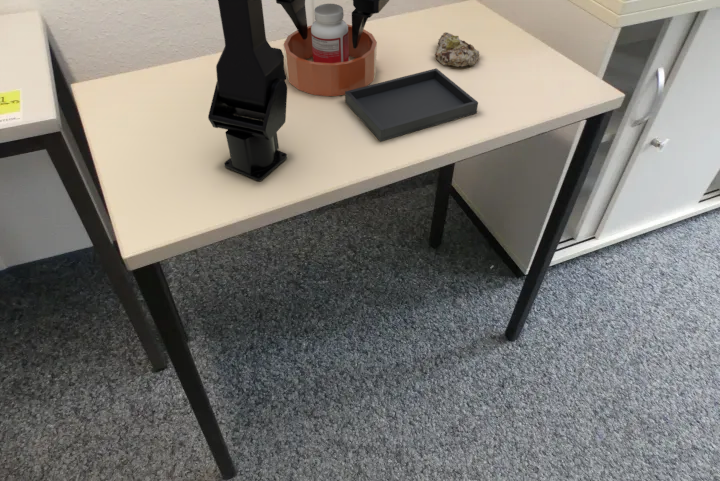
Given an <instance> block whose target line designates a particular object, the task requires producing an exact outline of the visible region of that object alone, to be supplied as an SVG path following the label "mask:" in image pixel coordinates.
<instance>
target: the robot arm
mask: <svg viewBox="0 0 720 481" xmlns="http://www.w3.org/2000/svg"><path fill="white" fill-rule="evenodd" d="M275 2H276V4H278V5H281V7H282V9H283V10H284V11H285V13H286V14H287V15H288V17H289V18H290V20H291V21H292V23H293V25H294V27H295V29H296V31H297V30H298V32H299V33H300V35H301V37H302V39H303V40H306V39H307V37H308V19H307V10H306V0H275ZM389 2H390V0H352V6H353V7H354V10H352V12H351V25H352V43H353V48H354V49H356V48H357V47H358V44H359V41H360V38H361V35H362V32H363V30H365V27H366V23H367V21H368V19H369V18H371V17H372V16H373V15H375V14H380V12H381V11H382V10H383V9H384V7H385V6H387V4H388V3H389ZM217 3H218V9H219V15H220V16H219V17H220V21H221V28H222V33H223V38H224V48H223V50H222V52H221V54H220V56H219V58H218V61H217V63H216V66H215V70H216V71H215V72H216V84H215V88H214V92H213V95H212V100H211V103H210V108H209V111H208V114H207V115H208V116H207V119H208V121H209V123H210V124H211V126H212V127H213V128H215V129H222V130H226V131H225V133H224V134H225V138H226V142H227V146H228V151H229V157H230V158H229V159H227V160H226V161H225V162H224V163H223V166H224V167H225V168H226V169H229V170H231V171H233V172H236V173H238V174H240V175H243V176H245V177H248V178H249V179H253V180H255V181H259V182H260V181H262V180H264V178H266V177H267V176H268V175H270V174H271V173H272V172H273V171H274V170H275V169H276V168H277V167H279V166H280V165H281V164H282V163H284V161H285V160H287V159H288V154H287V153H286V152H283V151H281V150H279V149H280V146H279V140H278V139H279V138H278V132H279V131H280V129H281V128H282V127H283V126H284V124H285V123H286V120H287V100H288V85H287V82H286V80H287V74H286V69H285V54H284V52H283V50H282V49H281V48H277V47H272V46H271V45H270V43H269V42H268V40H267V35H266V27H265V18H264V9H263V0H217Z"/></svg>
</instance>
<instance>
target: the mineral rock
mask: <svg viewBox="0 0 720 481" xmlns="http://www.w3.org/2000/svg"><path fill="white" fill-rule="evenodd" d="M437 45H438V46H437V51H436V52H435V54H434V56H435V58H436V60H437V62H438V63H440V64H441V65H442V66H453V67H457V68H458V67H465V66H470V67H472V66H474V65H475V64H476V63H477V61H478V59H479V58H480V55H481V54H480V51H479V50H478V49H476V48H475V47H474V46H473V44H471V43H470V44H469V43H468V42H466V41H465V40H463V39H460V37H459V35H453V34H452V33H449V32H443V33H442V35H440V37H439V39H438V41H437Z"/></svg>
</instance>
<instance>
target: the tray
mask: <svg viewBox="0 0 720 481" xmlns="http://www.w3.org/2000/svg"><path fill="white" fill-rule="evenodd" d="M344 98H345V100H344V101H345V104H346V105H347V106H348V107H349V108H350V109H351V111H353V113H354V114H355V115H356V116H357V117H358V119H359V120H360V121H361V122H362V123H363V124H364V125H365V126H366V127H367V128H368V129H369V131H370V132H371V133H372V134H373V135H374V136H375V137H376V139H377V140H379V141H380V142H384V141H387V140H390V139H391V140H392V139H394V138H398V137H401V136H404V135H407V134H411V133H414V132H417V131H421V130H424V129H428V128H431V127H435V126H438V125H442V124H445V123H449V122H451V121H455V120H458V119H459V120H460V119H462V118H465V117H468V116H469V117H470V116H472V115H476V114H477V111H478V106H479V102H478V101H477V100H476V99H475V98H474V97H472V96H471V95H470V94H469V93H468V92H466V91H465V90H464V89H463V88H461V87H460V86H459V85H458V84H456V82H454V81H453V80H451V79H450V78H449V77H448V76H446V75H445V74H444V73H443V72H441V70H439V69H438V68H433V69H428V70H424V71H420V72H416V73H413V74H409V75H405V76H401V77H396V78H392V79H389V80H385V81H380V82H377V83H373V84H369V85H368V86H365V87H361V88H357V89H353V90H349V91H345V95H344Z"/></svg>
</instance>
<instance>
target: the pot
mask: <svg viewBox="0 0 720 481" xmlns="http://www.w3.org/2000/svg"><path fill="white" fill-rule="evenodd" d="M346 24H347V26H348V43H349V57H352V58H353V59H349V61H346V62H338V63H320V62H313V60H308V59H311V58H313V51H312V37H311V26H312V24H311V25H307V27H308V37H307V39H306V40H303V39H302V37H301V35H300V33H299V32H298V30H297V29H296V30H295V31H294V32H292V33H289V35H287V37H286V39H285V40H284V42H283V55H284V64H285V73H286V78H287V79H288V82H289V84H291V85H292V86H293V87H295V89H297V90H298V91H301V92H303V93H307V94H310V95H313V96H323V97H337V96H345V91H349V90H353V89H357V88H361V87H365V86H369V85H371V83H373V82H374V81H375V78H376V74H377V51H378V50H377V49H378V48H377V47H378V41H377V39H376V38H375V36H374V35H373V34H372V33H371V32H370V31H368V30H366V29H364V30H363V32H362V35H361V38H360V41H359V44H358V47H357V48H356V49H354V48H353V43H352V24H349V23H346Z"/></svg>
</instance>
